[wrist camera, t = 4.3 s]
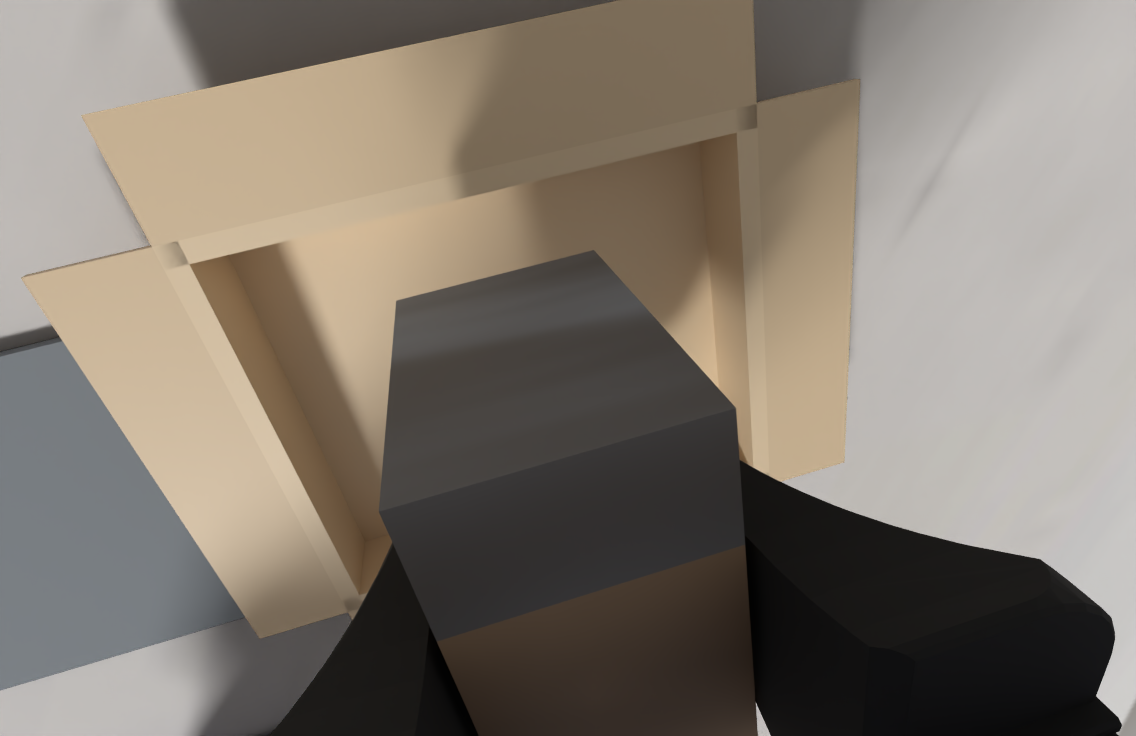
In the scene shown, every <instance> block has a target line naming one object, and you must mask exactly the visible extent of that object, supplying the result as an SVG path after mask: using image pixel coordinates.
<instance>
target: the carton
mask: <svg viewBox="0 0 1136 736" xmlns="http://www.w3.org/2000/svg"><path fill="white" fill-rule="evenodd" d="M859 98H860V79H852V80H848V81H844V82H840V83H836V84H831V85H827V86H823V87H819V88H814V89H810V90H806V91H802V92H797V93H793V94H789V95H785V96H781V97H776V98H772V99H768V100H764V101H759V102H757V98H756V69H755V40H754V10H753V0H617V1H613V2H608V3H603V4H599V5H594V6H589V7H585V8H580V9H575V10H571V11H566V12H561V13H557V14H552V15H547V16H543V17H538V18H533V19H529V20H524V21H519V22H515V23H510V24H505V25H501V26H496V27H491V28H487V29H482V30H477V31H473V32H468V33H463V34H459V35H454V36H449V37H445V38H440V39H435V40H431V41H426V42H421V43H417V44H412V45H407V46H403V47H398V48H393V49H389V50H384V51H379V52H375V53H370V54H365V55H360V56H356V57H351V58H346V59H342V60H337V61H332V62H328V63H323V64H318V65H314V66H309V67H304V68H300V69H295V70H290V71H286V72H281V73H276V74H272V75H267V76H262V77H258V78H253V79H248V80H244V81H239V82H234V83H230V84H225V85H220V86H216V87H211V88H206V89H202V90H197V91H192V92H188V93H183V94H178V95H174V96H169V97H164V98H160V99H155V100H150V101H146V102H141V103H136V104H132V105H127V106H122V107H118V108H113V109H108V110H104V111H99V112H94V113H89V114H85V115H81V116H82V118H83V120H84V122H85V124H86V125H87V127H88V129H89V131H90V133H91V135H92V137H93V138H94V140H95V142H96V144H97V146H98V148H99V150H100V151H101V153H102V155H103V157H104V159H105V161H106V163H107V165H108V166H109V168H110V170H111V172H112V174H113V176H114V178H115V179H116V181H117V183H118V185H119V187H120V189H121V191H122V192H123V194H124V196H125V198H126V200H127V202H128V204H129V206H130V207H131V209H132V211H133V213H134V215H135V217H136V219H137V220H138V222H139V224H140V226H141V228H142V230H143V232H144V233H145V235H146V237H147V239H148V241H149V243H150V246H146V247H142V248H138V249H134V250H129V251H125V252H121V253H117V254H112V255H108V256H104V257H100V258H95V259H91V260H87V261H83V262H79V263H74V264H70V265H66V266H62V267H57V268H53V269H49V270H45V271H40V272H36V273H32V274H28V275H25V276H24V277H22V278H21V279H22V281H23V282H24V284H25V285H26V287H27V288H28V290H29V291H30V293H31V294H32V296H33V297H34V299H35V300H36V302H37V303H38V305H39V306H40V308H41V309H42V311H43V312H44V314H45V315H46V317H47V318H48V320H49V321H50V323H51V324H52V326H53V327H54V329H55V330H56V332H57V333H58V335H59V336H60V338H61V339H62V341H63V342H64V344H65V345H66V347H67V349H68V350H69V352H70V353H71V355H72V356H73V358H74V359H75V361H76V362H77V364H78V365H79V367H80V368H81V370H82V371H83V373H84V374H85V376H86V377H87V379H88V380H89V382H90V383H91V385H92V386H93V388H94V389H95V391H96V392H97V394H98V395H99V397H100V398H101V400H102V401H103V403H104V404H105V406H106V407H107V409H108V410H109V412H110V413H111V415H112V417H113V418H114V420H115V421H116V423H117V424H118V426H119V427H120V429H121V430H122V432H123V433H124V435H125V436H126V438H127V439H128V441H129V442H130V444H131V445H132V447H133V448H134V450H135V451H136V453H137V454H138V456H139V457H140V459H141V460H142V462H143V463H144V465H145V466H146V468H147V469H148V471H149V472H150V474H151V475H152V477H153V478H154V480H155V481H156V483H157V484H158V486H159V488H160V489H161V491H162V492H163V494H164V495H165V497H166V498H167V500H168V501H169V503H170V504H171V506H172V507H173V509H174V510H175V512H176V513H177V515H178V516H179V518H180V519H181V521H182V522H183V524H184V525H185V527H186V528H187V530H188V531H189V533H190V534H191V536H192V537H193V539H194V540H195V542H196V543H197V545H198V546H199V548H200V549H201V551H202V552H203V554H204V556H205V557H206V559H207V560H208V562H209V563H210V565H211V566H212V568H213V569H214V571H215V572H216V574H217V575H218V577H219V578H220V580H221V581H222V583H223V584H224V586H225V587H226V589H227V590H228V592H229V593H230V595H231V596H232V598H233V599H234V601H235V602H236V604H237V605H238V607H239V608H240V610H241V611H242V613H243V614H244V616H245V617H246V619H247V620H248V622H249V624H250V625H251V627H252V628H253V630H254V631H255V633H256V634H257V636H258V637H259V639H261V638H265V637H268V636H271V635H275V634H278V633H281V632H285V631H288V630H291V629H295V628H298V627H301V626H304V625H308V624H311V623H314V622H318V621H321V620H324V619H328V618H331V617H334V616H338V615H341V614H344V613H347V612H348V613H349V615H350V617H351V619H352V620H353V618H354V617H355V615H356V613H357V611H358V610H359V608H360V606H361V604H362V602H363V600H364V598H365V597H366V595H367V593H368V591H369V589H370V587H371V585H372V583H373V582H374V580H375V578H376V576H377V574H378V572H379V570H380V568H381V566H382V563H383V561H384V559H385V557H386V555H387V553H388V551H389V548H390V546H391V544H392V540H391V538H390V536H389V534H388V532H387V529H386V527H385V525H384V523H383V520H382V518H381V516H380V514H379V502H380V490H381V478H382V466H383V453H384V441H385V429H386V417H387V405H388V393H389V381H390V369H391V357H392V345H393V333H394V321H395V309H396V301H397V300H401V299H404V298H408V297H412V296H416V295H420V294H424V293H428V292H432V291H436V290H440V289H443V288H447V287H451V286H455V285H459V284H463V283H467V282H471V281H475V280H478V279H482V278H486V277H490V276H494V275H498V274H502V273H506V272H510V271H514V270H517V269H521V268H525V267H529V266H533V265H537V264H541V263H545V262H549V261H553V260H556V259H560V258H564V257H568V256H572V255H576V254H580V253H584V252H588V251H592V250H594V251H595V252H596V253H597V254H598V255H599V256H600V257H601V258H602V259H603V261H604V262H605V263H606V264H607V265H608V266H609V267H610V268H611V269H612V271H613V272H614V273H615V274H616V275H617V276H618V277H619V278H620V279H621V281H622V282H623V283H624V284H625V285H626V286H627V287H628V288H629V289H630V291H631V292H632V293H633V294H634V295H635V296H636V297H637V298H638V299H639V301H640V302H641V303H642V304H643V305H644V306H645V307H646V308H647V309H648V311H649V312H650V313H651V314H652V315H653V316H654V317H655V318H656V319H657V321H658V322H659V323H660V324H661V325H662V326H663V327H664V328H665V330H666V331H667V332H668V333H669V334H670V335H671V336H672V337H673V338H674V340H675V341H676V342H677V343H678V344H679V345H680V346H681V347H682V348H683V350H684V351H685V352H686V353H687V354H688V355H689V356H690V357H691V358H692V360H693V361H694V362H695V363H696V364H697V365H698V366H699V367H700V368H701V370H702V371H703V372H704V373H705V374H706V375H707V376H708V377H709V378H710V380H711V381H712V382H713V383H714V384H715V385H716V386H717V387H718V388H719V390H720V391H721V392H722V393H723V394H724V395H725V396H726V397H727V398H728V400H729V401H730V402H731V403H732V404H733V405H734V406H735V407H736V414H737V429H738V444H739V459H740V460H741V461H743V462H744V463H746V464H748V465H750V466H751V467H753V468H755V469H757V470H759V471H760V472H762V473H764V474H766V475H768V476H770V477H772V478H774V479H776V480H778V481H780V482H781V481H784V480H787V479H790V478H794V477H797V476H800V475H804V474H807V473H810V472H814V471H817V470H820V469H824V468H827V467H830V466H833V465H837V464H840V463H843V462H844V458H845V434H846V410H847V386H848V362H849V338H850V314H851V290H852V266H853V242H854V218H855V194H856V170H857V146H858V122H859Z"/></svg>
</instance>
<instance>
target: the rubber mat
mask: <svg viewBox="0 0 1136 736" xmlns="http://www.w3.org/2000/svg"><path fill="white" fill-rule="evenodd" d="M241 618H245V616H244V614H243V613H242V611H241V610H240V608H239V607H238V605H237V604H236V602H235V601H234V599H233V598H232V596H231V595H230V593H229V592H228V590H227V589H226V587H225V586H224V584H223V583H222V581H221V580H220V578H219V577H218V575H217V574H216V572H215V571H214V569H213V568H212V566H211V565H210V563H209V562H208V560H207V559H206V557H205V556H204V554H203V552H202V551H201V549H200V548H199V546H198V545H197V543H196V542H195V540H194V539H193V537H192V536H191V534H190V533H189V531H188V530H187V528H186V527H185V525H184V524H183V522H182V521H181V519H180V518H179V516H178V515H177V513H176V512H175V510H174V509H173V507H172V506H171V504H170V503H169V501H168V500H167V498H166V497H165V495H164V494H163V492H162V491H161V489H160V488H159V486H158V484H157V483H156V481H155V480H154V478H153V477H152V475H151V474H150V472H149V471H148V469H147V468H146V466H145V465H144V463H143V462H142V460H141V459H140V457H139V456H138V454H137V453H136V451H135V450H134V448H133V447H132V445H131V444H130V442H129V441H128V439H127V438H126V436H125V435H124V433H123V432H122V430H121V429H120V427H119V426H118V424H117V423H116V421H115V420H114V418H113V417H112V415H111V413H110V412H109V410H108V409H107V407H106V406H105V404H104V403H103V401H102V400H101V398H100V397H99V395H98V394H97V392H96V391H95V389H94V388H93V386H92V385H91V383H90V382H89V380H88V379H87V377H86V376H85V374H84V373H83V371H82V370H81V368H80V367H79V365H78V364H77V362H76V361H75V359H74V358H73V356H72V355H71V353H70V352H69V350H68V349H67V347H66V345H65V344H64V342H63V341H62V339H61V338H60V337H59V338H55V339H51V340H47V341H43V342H39V343H34V344H30V345H26V346H22V347H18V348H14V349H10V350H6V351H2V352H0V690H4V689H7V688H10V687H14V686H17V685H20V684H24V683H27V682H30V681H34V680H37V679H40V678H44V677H47V676H50V675H54V674H57V673H61V672H64V671H67V670H71V669H74V668H77V667H81V666H84V665H87V664H91V663H94V662H97V661H101V660H104V659H107V658H111V657H114V656H117V655H121V654H124V653H128V652H131V651H134V650H138V649H141V648H144V647H148V646H151V645H154V644H158V643H161V642H164V641H168V640H171V639H174V638H178V637H181V636H185V635H188V634H191V633H195V632H198V631H201V630H205V629H208V628H211V627H215V626H218V625H221V624H225V623H228V622H231V621H235V620H238V619H241Z"/></svg>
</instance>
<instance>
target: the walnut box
mask: <svg viewBox="0 0 1136 736" xmlns="http://www.w3.org/2000/svg"><path fill="white" fill-rule="evenodd" d="M379 514H380V516H381V518H382V520H383V523H384V525H385V527H386V529H387V532H388V534H389V536H390V538H391V540H392V543H393V545H394V547H395V549H396V552H397V554H398V556H399V558H400V561H401V563H402V565H403V567H404V570H405V572H406V574H407V576H408V578H409V581H410V583H411V585H412V587H413V590H414V592H415V594H416V596H417V599H418V601H419V603H420V605H421V608H422V610H423V612H424V614H425V616H426V619H427V621H428V623H429V625H430V628H431V630H432V632H433V634H434V637H435V639H436V641H437V643H438V646H439V648H440V650H441V652H442V654H443V657H444V659H445V661H446V663H447V666H448V668H449V670H450V672H451V675H452V677H453V679H454V681H455V684H456V686H457V688H458V690H459V692H460V695H461V697H462V699H463V701H464V704H465V706H466V708H467V710H468V713H469V715H470V717H471V719H472V722H473V724H474V726H475V728H476V730H477V733H478V735H479V736H758V732H757V717H756V702H755V687H754V671H753V656H752V641H751V626H750V611H749V596H748V580H747V565H746V550H745V535H744V520H743V505H742V489H741V474H740V459H739V444H738V429H737V414H736V407H735V406H734V405H733V404H732V403H731V402H730V401H729V400H728V398H727V397H726V396H725V395H724V394H723V393H722V392H721V391H720V390H719V388H718V387H717V386H716V385H715V384H714V383H713V382H712V381H711V380H710V378H709V377H708V376H707V375H706V374H705V373H704V372H703V371H702V370H701V368H700V367H699V366H698V365H697V364H696V363H695V362H694V361H693V360H692V358H691V357H690V356H689V355H688V354H687V353H686V352H685V351H684V350H683V348H682V347H681V346H680V345H679V344H678V343H677V342H676V341H675V340H674V338H673V337H672V336H671V335H670V334H669V333H668V332H667V331H666V330H665V328H664V327H663V326H662V325H661V324H660V323H659V322H658V321H657V319H656V318H655V317H654V316H653V315H652V314H651V313H650V312H649V311H648V309H647V308H646V307H645V306H644V305H643V304H642V303H641V302H640V301H639V299H638V298H637V297H636V296H635V295H634V294H633V293H632V292H631V291H630V289H629V288H628V287H627V286H626V285H625V284H624V283H623V282H622V281H621V279H620V278H619V277H618V276H617V275H616V274H615V273H614V272H613V271H612V269H611V268H610V267H609V266H608V265H607V264H606V263H605V262H604V261H603V259H602V258H601V257H600V256H599V255H598V254H597V253H596V252H595V251H594V250H592V251H588V252H584V253H580V254H576V255H572V256H568V257H564V258H560V259H556V260H553V261H549V262H545V263H541V264H537V265H533V266H529V267H525V268H521V269H517V270H514V271H510V272H506V273H502V274H498V275H494V276H490V277H486V278H482V279H478V280H475V281H471V282H467V283H463V284H459V285H455V286H451V287H447V288H443V289H440V290H436V291H432V292H428V293H424V294H420V295H416V296H412V297H408V298H404V299H401V300H397V301H396V309H395V321H394V333H393V345H392V357H391V369H390V381H389V393H388V405H387V417H386V429H385V441H384V453H383V466H382V478H381V490H380V502H379Z"/></svg>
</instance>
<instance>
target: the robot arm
mask: <svg viewBox="0 0 1136 736" xmlns="http://www.w3.org/2000/svg"><path fill="white" fill-rule="evenodd" d="M740 474H741V489H742V505H743V520H744V535H745V550H746V565H747V580H748V596H749V611H750V626H751V641H752V656H753V671H754V687H755V701H756V703H757V706H758V708H759V710H760V712H761V715H762V717H763V719H764V721H765V723H766V726H767V728H768V730H769V732H770V735H771V736H1118V735H1117V734H1116V732H1119V731H1120V729H1121V726H1122V724H1121V722H1120V720H1119V718H1118V717H1117V716H1116V715H1115V714H1114V713H1113V712H1112V711H1111V710H1110V709H1109V708H1108V707H1107V706H1105V705H1104V704H1103V703H1102V702H1101V701H1100V700H1099V699H1098V698H1097V697H1096V694H1097V692H1098V689H1099V686H1100V684H1101V681H1102V678H1103V676H1104V673H1105V671H1106V668H1107V665H1108V663H1109V660H1110V657H1111V655H1112V650H1113V646H1114V641H1115V631H1114V627H1113V622H1112V618H1111V617H1110V616H1109V615H1108V614H1107V613H1106V612H1105V611H1104V610H1103V609H1102V608H1101V607H1100V606H1099V605H1097V604H1096V603H1095V602H1094V601H1093V600H1091V599H1090V598H1089V597H1088V596H1087V595H1085V594H1084V593H1083V592H1082V591H1080V590H1079V589H1078V588H1077V587H1076V586H1074V585H1073V584H1072V583H1071V582H1070V581H1068V580H1067V579H1066V578H1064V577H1063V576H1062V575H1061V574H1059V573H1058V572H1057V571H1055V570H1054V569H1053V568H1051V567H1050V566H1049V565H1047V564H1046V563H1044V562H1043V561H1042V560H1041V559H1036V558H1031V557H1025V556H1020V555H1015V554H1010V553H1005V552H1000V551H994V550H989V549H984V548H979V547H974V546H968V545H964V544H960V543H956V542H952V541H948V540H944V539H940V538H936V537H932V536H928V535H924V534H920V533H916V532H913V531H910V530H906V529H903V528H899V527H896V526H892V525H889V524H886V523H883V522H880V521H877V520H874V519H871V518H868V517H865V516H862V515H859V514H856V513H853V512H850V511H848V510H845V509H842V508H840V507H837V506H834V505H832V504H830V503H827V502H825V501H822V500H820V499H818V498H815V497H813V496H810V495H808V494H806V493H803V492H801V491H799V490H797V489H794V488H792V487H790V486H788V485H786V484H784V483H782V482H780V481H778V480H776V479H774V478H772V477H770V476H768V475H766V474H764V473H762V472H760V471H759V470H757V469H755V468H753V467H751V466H750V465H748V464H746V463H744V462H743V461H741V460H740ZM270 736H479V735H478V733H477V730H476V728H475V726H474V724H473V722H472V719H471V717H470V715H469V713H468V710H467V708H466V706H465V704H464V701H463V699H462V697H461V695H460V692H459V690H458V688H457V686H456V684H455V681H454V679H453V677H452V675H451V672H450V670H449V668H448V666H447V663H446V661H445V659H444V657H443V654H442V652H441V650H440V648H439V646H438V643H437V641H436V639H435V637H434V634H433V632H432V630H431V628H430V625H429V623H428V621H427V619H426V616H425V614H424V612H423V610H422V608H421V605H420V603H419V601H418V599H417V596H416V594H415V592H414V590H413V587H412V585H411V583H410V581H409V578H408V576H407V574H406V572H405V570H404V567H403V565H402V563H401V561H400V558H399V556H398V554H397V552H396V549H395V547H394V545H393V543H392V544H391V546H390V548H389V551H388V553H387V555H386V557H385V559H384V561H383V563H382V566H381V568H380V570H379V572H378V574H377V576H376V578H375V580H374V582H373V583H372V585H371V587H370V589H369V591H368V593H367V595H366V597H365V598H364V600H363V602H362V604H361V606H360V608H359V610H358V611H357V613H356V615H355V617H354V618H353V620H352V622H351V623H350V625H349V627H348V628H347V630H346V632H345V633H344V635H343V637H342V638H341V640H340V641H339V643H338V644H337V646H336V647H335V649H334V651H333V652H332V654H331V655H330V657H329V658H328V660H327V661H326V663H325V664H324V666H323V667H322V668H321V670H320V671H319V673H318V674H317V675H316V677H315V678H314V680H313V681H312V682H311V684H310V685H309V686H308V688H307V689H306V690H305V692H304V693H303V694H302V696H301V697H300V698H299V700H298V701H297V702H296V704H295V705H294V706H293V708H292V709H291V710H290V712H289V713H288V714H287V715H286V717H285V718H284V719H283V720H282V722H281V723H280V724H279V725H278V726H277V728H276V729H275V730H274V731H273V732H272V734H271V735H270Z"/></svg>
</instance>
